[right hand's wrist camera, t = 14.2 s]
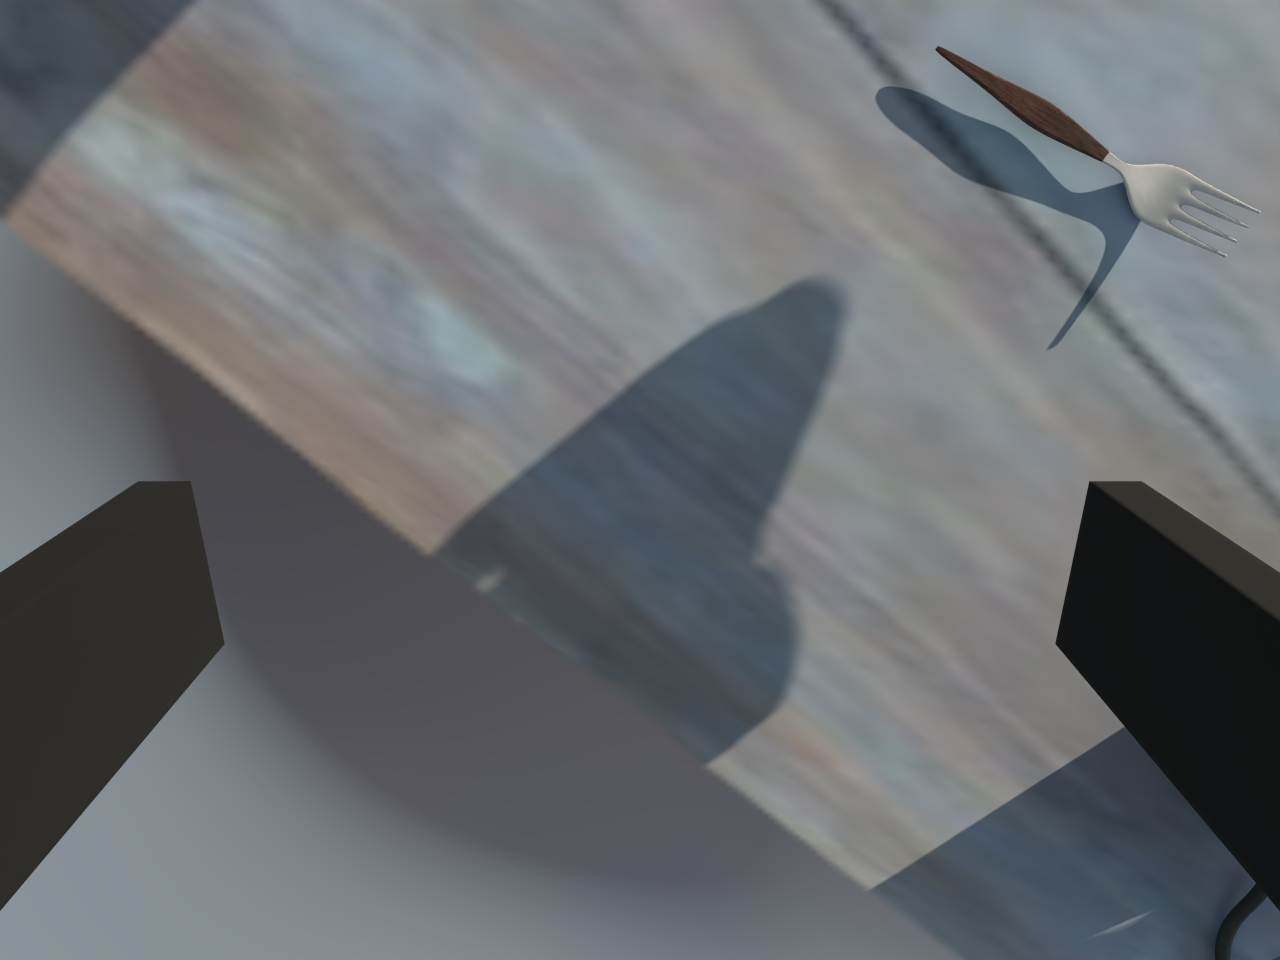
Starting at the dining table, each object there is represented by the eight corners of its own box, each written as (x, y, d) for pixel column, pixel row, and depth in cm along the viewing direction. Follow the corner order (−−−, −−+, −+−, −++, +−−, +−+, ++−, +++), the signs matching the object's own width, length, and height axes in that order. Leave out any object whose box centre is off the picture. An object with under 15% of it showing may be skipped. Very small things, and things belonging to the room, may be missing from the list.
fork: (950, 18, 36) (967, 11, 34) (1235, 205, 39) (1265, 207, 37) (915, 78, 37) (930, 74, 35) (1196, 256, 39) (1223, 262, 38)
